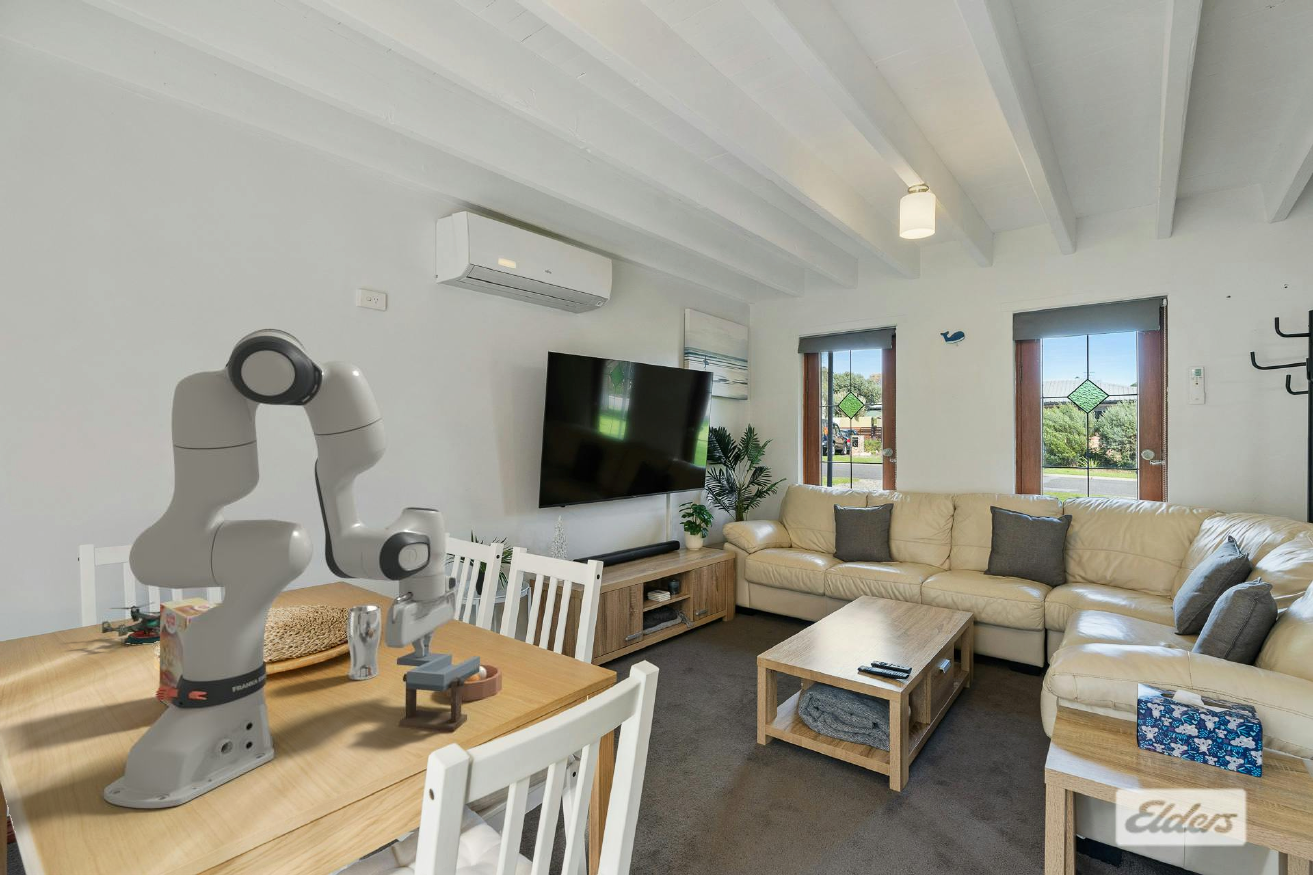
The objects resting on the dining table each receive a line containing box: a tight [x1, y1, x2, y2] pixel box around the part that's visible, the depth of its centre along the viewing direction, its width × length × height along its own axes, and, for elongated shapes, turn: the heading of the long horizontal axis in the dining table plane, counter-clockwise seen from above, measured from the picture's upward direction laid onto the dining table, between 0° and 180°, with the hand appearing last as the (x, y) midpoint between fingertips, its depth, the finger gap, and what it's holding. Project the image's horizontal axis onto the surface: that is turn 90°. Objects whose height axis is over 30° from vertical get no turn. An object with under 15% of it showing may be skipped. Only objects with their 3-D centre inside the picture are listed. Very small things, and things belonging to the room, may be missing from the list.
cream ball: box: [476, 666, 487, 681], centre depth 132 cm, size 4×4×4 cm
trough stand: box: [398, 673, 468, 733], centre depth 115 cm, size 5×12×9 cm, turn 79°
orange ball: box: [465, 674, 479, 682], centre depth 128 cm, size 4×4×4 cm
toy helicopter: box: [101, 601, 160, 644], centre depth 161 cm, size 20×15×8 cm
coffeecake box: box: [158, 596, 217, 708], centre depth 123 cm, size 15×7×20 cm, turn 53°
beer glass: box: [346, 604, 382, 681], centre depth 138 cm, size 7×7×15 cm
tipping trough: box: [396, 651, 481, 693], centre depth 119 cm, size 14×15×3 cm
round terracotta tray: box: [446, 662, 503, 702], centre depth 130 cm, size 11×11×4 cm
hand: (422, 655), depth 124 cm, fingers closed
